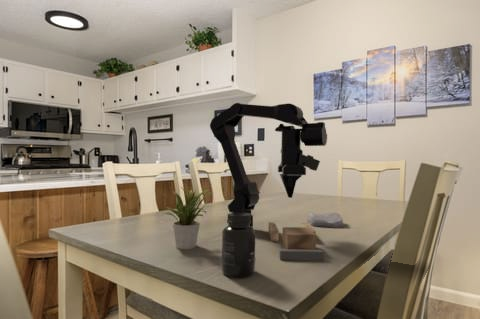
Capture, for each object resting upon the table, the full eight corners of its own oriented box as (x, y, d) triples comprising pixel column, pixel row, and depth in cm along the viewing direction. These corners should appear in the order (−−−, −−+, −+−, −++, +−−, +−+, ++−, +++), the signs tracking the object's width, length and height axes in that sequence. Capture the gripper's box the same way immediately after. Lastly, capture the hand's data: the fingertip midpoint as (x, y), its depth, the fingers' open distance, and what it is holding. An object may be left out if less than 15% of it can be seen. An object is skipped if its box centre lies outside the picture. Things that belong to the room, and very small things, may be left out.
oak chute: (271, 241, 86) (271, 230, 86) (268, 231, 98) (268, 222, 98) (315, 242, 85) (315, 231, 85) (307, 232, 97) (307, 222, 97)
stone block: (345, 233, 105) (338, 221, 115) (346, 220, 104) (338, 209, 114) (310, 233, 106) (306, 222, 116) (311, 220, 105) (306, 210, 115)
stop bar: (280, 259, 70) (280, 251, 70) (279, 257, 71) (279, 249, 71) (323, 260, 70) (323, 251, 70) (321, 258, 71) (321, 249, 71)
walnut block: (287, 254, 74) (287, 234, 74) (282, 245, 82) (282, 227, 82) (315, 254, 75) (315, 234, 75) (307, 245, 83) (308, 227, 83)
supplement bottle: (259, 276, 60) (260, 216, 60) (226, 280, 58) (226, 217, 58) (248, 265, 66) (249, 210, 66) (218, 268, 64) (219, 211, 64)
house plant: (225, 241, 85) (226, 183, 85) (206, 256, 71) (206, 188, 71) (179, 237, 89) (180, 182, 89) (153, 251, 76) (154, 185, 76)
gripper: (325, 145, 82) (324, 202, 82) (311, 147, 101) (310, 194, 100) (284, 144, 82) (283, 201, 82) (278, 147, 101) (277, 193, 101)
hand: (290, 197), depth 91 cm, fingers closed
